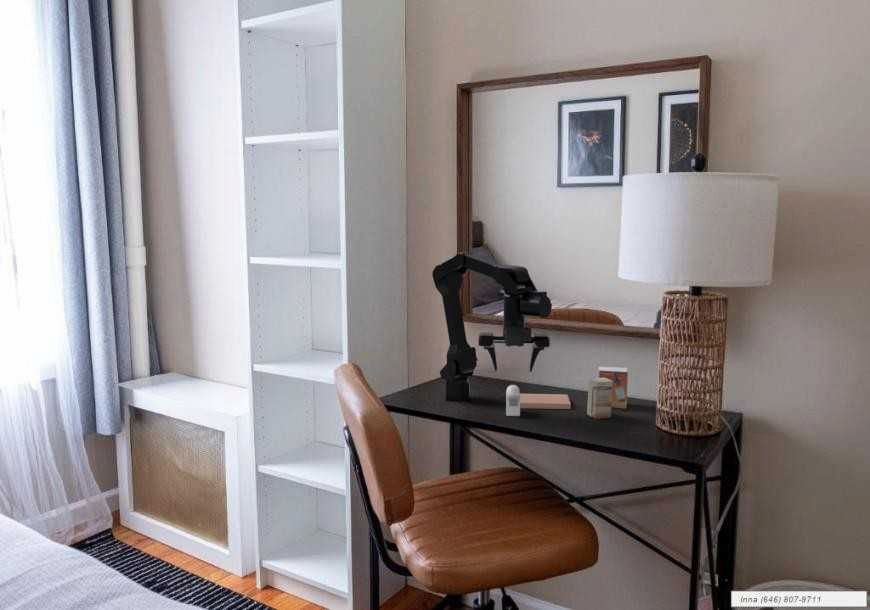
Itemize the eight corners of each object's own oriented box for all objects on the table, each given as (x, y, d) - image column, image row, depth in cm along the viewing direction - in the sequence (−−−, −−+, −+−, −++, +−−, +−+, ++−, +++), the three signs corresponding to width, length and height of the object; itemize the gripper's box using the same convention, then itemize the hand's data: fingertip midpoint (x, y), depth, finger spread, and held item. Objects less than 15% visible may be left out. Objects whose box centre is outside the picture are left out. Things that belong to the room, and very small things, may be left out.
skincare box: (595, 419, 190) (596, 382, 188) (586, 414, 194) (587, 378, 192) (612, 417, 191) (613, 380, 190) (603, 412, 195) (604, 376, 194)
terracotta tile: (512, 407, 200) (512, 402, 200) (511, 398, 210) (511, 393, 210) (570, 409, 199) (570, 403, 199) (567, 399, 209) (567, 394, 209)
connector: (506, 417, 192) (506, 390, 191) (506, 410, 198) (506, 384, 197) (520, 417, 192) (520, 390, 191) (519, 410, 198) (519, 384, 197)
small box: (597, 407, 201) (598, 370, 200) (597, 401, 207) (598, 365, 205) (626, 408, 199) (628, 371, 198) (626, 403, 205) (627, 367, 203)
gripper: (478, 318, 184) (477, 377, 187) (551, 319, 183) (550, 379, 185) (479, 311, 195) (478, 368, 198) (548, 312, 194) (547, 369, 196)
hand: (513, 371), depth 194 cm, fingers open, 9 cm apart
